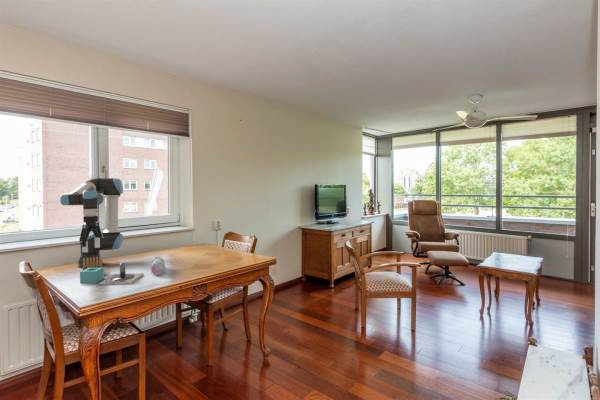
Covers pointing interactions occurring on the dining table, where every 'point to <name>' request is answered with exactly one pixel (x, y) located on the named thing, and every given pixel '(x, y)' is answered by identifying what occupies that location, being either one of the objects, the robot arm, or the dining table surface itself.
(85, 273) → the collar
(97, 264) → the ammunition clip
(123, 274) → the post stand
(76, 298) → the dining table surface
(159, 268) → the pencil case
